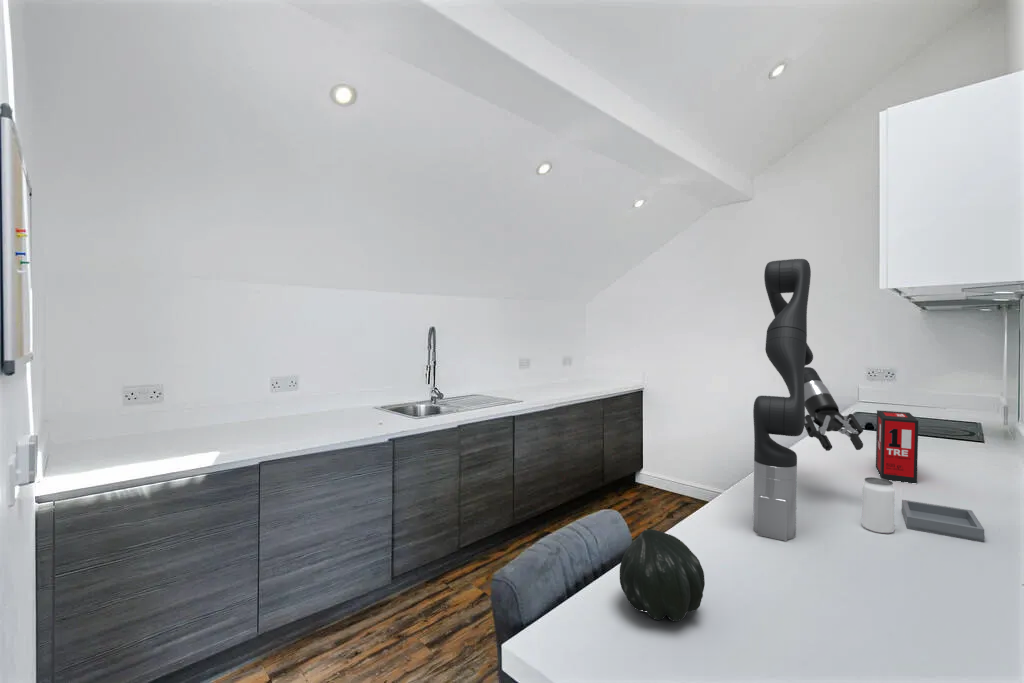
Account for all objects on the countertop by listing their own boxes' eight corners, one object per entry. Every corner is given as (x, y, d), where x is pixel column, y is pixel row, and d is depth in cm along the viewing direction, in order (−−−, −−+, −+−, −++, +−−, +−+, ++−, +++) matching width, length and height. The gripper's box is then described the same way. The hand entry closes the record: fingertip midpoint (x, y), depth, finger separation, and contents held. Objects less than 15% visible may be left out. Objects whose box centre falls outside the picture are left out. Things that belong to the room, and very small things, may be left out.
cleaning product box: (916, 484, 155) (918, 420, 154) (881, 479, 160) (883, 418, 159) (907, 470, 169) (909, 412, 169) (875, 466, 174) (876, 410, 173)
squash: (732, 580, 88) (677, 505, 94) (700, 622, 77) (640, 534, 83) (675, 608, 96) (628, 537, 102) (639, 650, 85) (588, 568, 91)
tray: (984, 542, 114) (984, 529, 114) (906, 528, 122) (907, 516, 122) (971, 521, 126) (971, 510, 126) (901, 510, 134) (901, 499, 134)
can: (880, 523, 126) (881, 476, 125) (901, 534, 119) (902, 484, 119) (855, 523, 125) (856, 476, 125) (874, 534, 119) (875, 485, 118)
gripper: (799, 392, 141) (826, 442, 130) (847, 391, 142) (878, 441, 131) (788, 407, 147) (812, 456, 136) (834, 406, 147) (862, 455, 136)
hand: (844, 448), depth 133 cm, fingers open, 8 cm apart
